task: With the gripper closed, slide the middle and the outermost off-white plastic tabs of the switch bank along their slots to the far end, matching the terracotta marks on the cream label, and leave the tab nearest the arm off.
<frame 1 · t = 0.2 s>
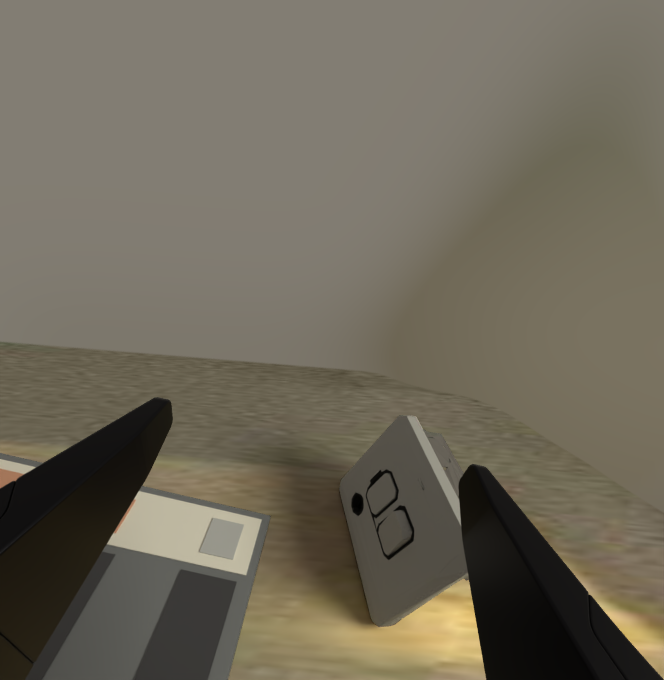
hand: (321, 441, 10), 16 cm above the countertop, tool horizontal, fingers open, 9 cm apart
electrical switch: (384, 539, 24), on the countertop
switch housing: (35, 649, 16), on the countertop
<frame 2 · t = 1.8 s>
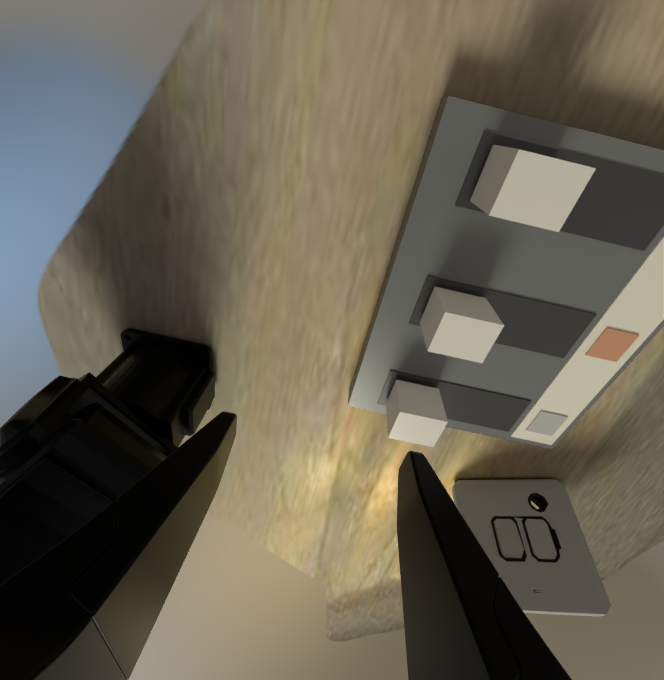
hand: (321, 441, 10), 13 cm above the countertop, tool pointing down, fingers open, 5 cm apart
electrical switch: (502, 492, 32), on the countertop
switch housing: (506, 310, 21), on the countertop
switch tab 3: (524, 186, 14), point 3 cm above the countertop, slide at 0.0 cm
switch tab 1: (414, 412, 22), point 3 cm above the countertop, slide at 0.0 cm
switch tab 2: (457, 323, 18), point 3 cm above the countertop, slide at 0.0 cm
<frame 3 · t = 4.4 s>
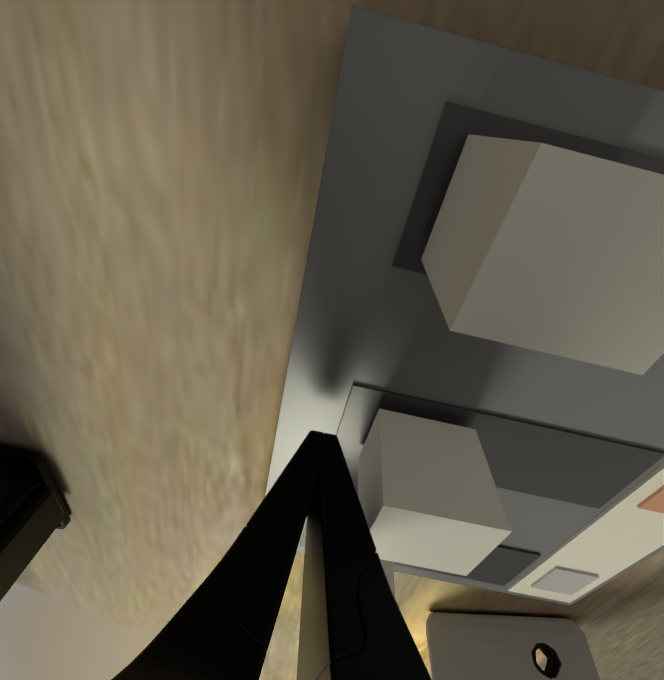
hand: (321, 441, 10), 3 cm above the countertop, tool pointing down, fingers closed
electrical switch: (496, 622, 23), on the countertop
switch housing: (500, 423, 12), on the countertop
switch tab 3: (547, 243, 5), point 3 cm above the countertop, slide at 0.0 cm
switch tab 1: (347, 584, 13), point 3 cm above the countertop, slide at 0.0 cm
switch tab 2: (420, 487, 9), point 3 cm above the countertop, slide at 0.4 cm, touching gripper
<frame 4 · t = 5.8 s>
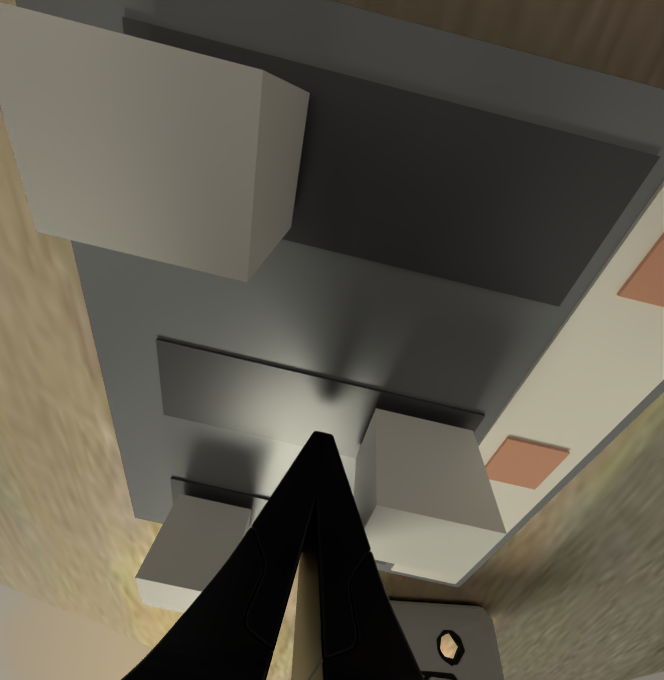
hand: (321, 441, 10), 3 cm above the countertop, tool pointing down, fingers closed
electrical switch: (414, 610, 22), on the countertop
switch housing: (346, 389, 12), on the countertop
switch tab 3: (189, 154, 5), point 3 cm above the countertop, slide at 0.0 cm
switch tab 1: (199, 554, 13), point 3 cm above the countertop, slide at 0.0 cm
switch tab 2: (416, 488, 9), point 3 cm above the countertop, slide at 6.2 cm, touching gripper
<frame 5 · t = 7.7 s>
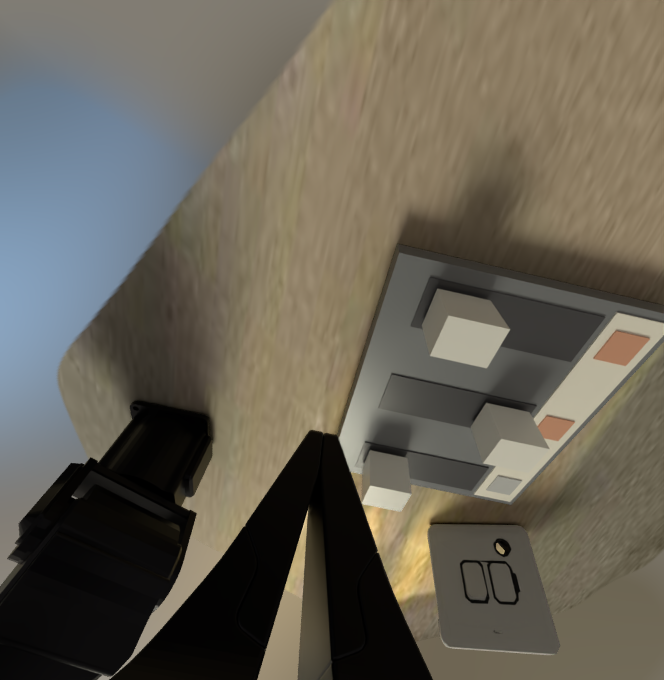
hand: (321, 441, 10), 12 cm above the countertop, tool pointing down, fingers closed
electrical switch: (474, 533, 35), on the countertop
switch housing: (463, 394, 24), on the countertop
switch tab 3: (461, 327, 17), point 3 cm above the countertop, slide at 0.0 cm
switch tab 1: (385, 480, 25), point 3 cm above the countertop, slide at 0.0 cm
switch tab 2: (506, 437, 22), point 3 cm above the countertop, slide at 6.1 cm
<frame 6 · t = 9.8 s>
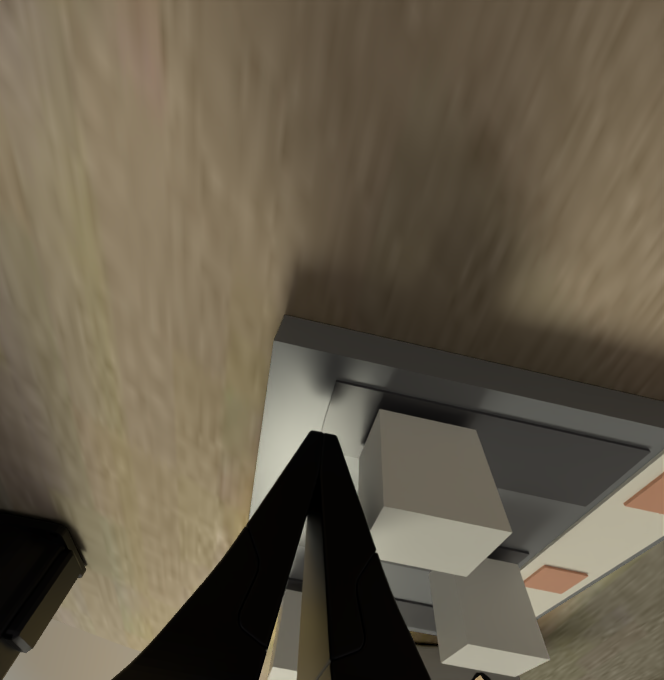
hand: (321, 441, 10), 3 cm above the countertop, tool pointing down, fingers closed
electrical switch: (448, 651, 27), on the countertop
switch housing: (420, 517, 16), on the countertop
switch tab 3: (420, 488, 9), point 3 cm above the countertop, slide at 0.9 cm, touching gripper
switch tab 1: (305, 638, 17), point 3 cm above the countertop, slide at 0.0 cm
switch tab 2: (481, 611, 13), point 3 cm above the countertop, slide at 6.1 cm
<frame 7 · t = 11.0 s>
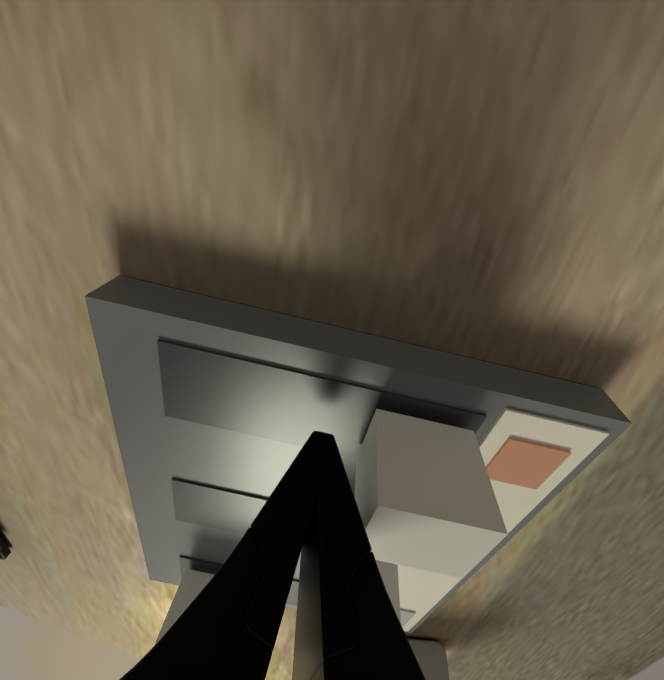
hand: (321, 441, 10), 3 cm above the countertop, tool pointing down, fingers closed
electrical switch: (384, 642, 26), on the countertop
switch housing: (313, 496, 16), on the countertop
switch tab 3: (416, 488, 9), point 3 cm above the countertop, slide at 6.2 cm, touching gripper
switch tab 1: (202, 618, 17), point 3 cm above the countertop, slide at 0.0 cm
switch tab 2: (352, 587, 13), point 3 cm above the countertop, slide at 6.1 cm
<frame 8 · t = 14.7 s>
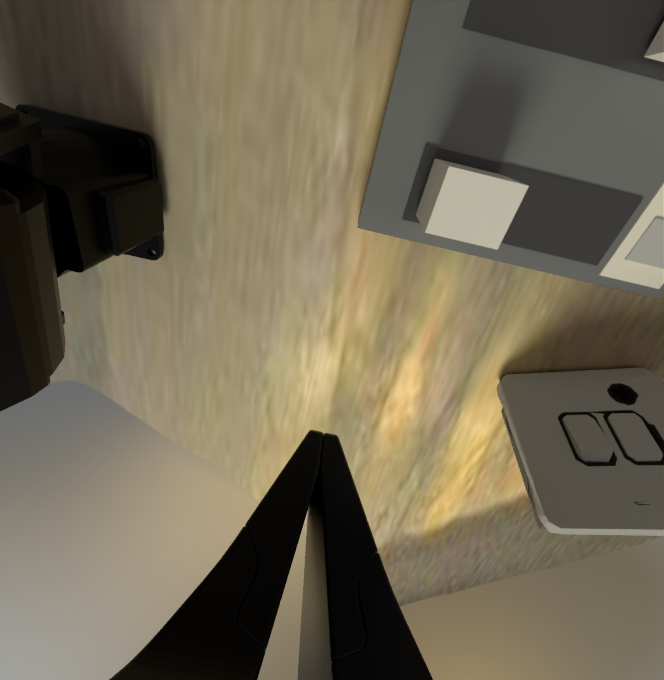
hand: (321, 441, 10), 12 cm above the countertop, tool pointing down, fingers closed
electrical switch: (563, 396, 23), on the countertop
switch housing: (618, 21, 13), on the countertop
switch tab 1: (464, 202, 14), point 3 cm above the countertop, slide at 0.0 cm
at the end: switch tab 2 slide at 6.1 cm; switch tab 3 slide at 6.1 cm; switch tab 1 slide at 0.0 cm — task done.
